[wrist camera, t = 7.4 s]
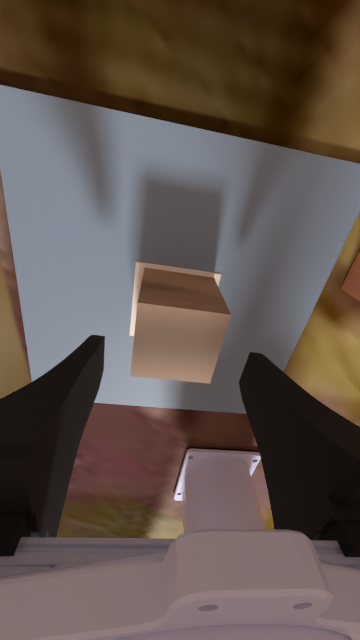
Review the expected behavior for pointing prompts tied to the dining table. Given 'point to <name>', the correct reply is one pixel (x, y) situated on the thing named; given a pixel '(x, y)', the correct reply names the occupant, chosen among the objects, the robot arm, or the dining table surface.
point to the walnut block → (178, 327)
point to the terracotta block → (353, 280)
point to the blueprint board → (163, 236)
